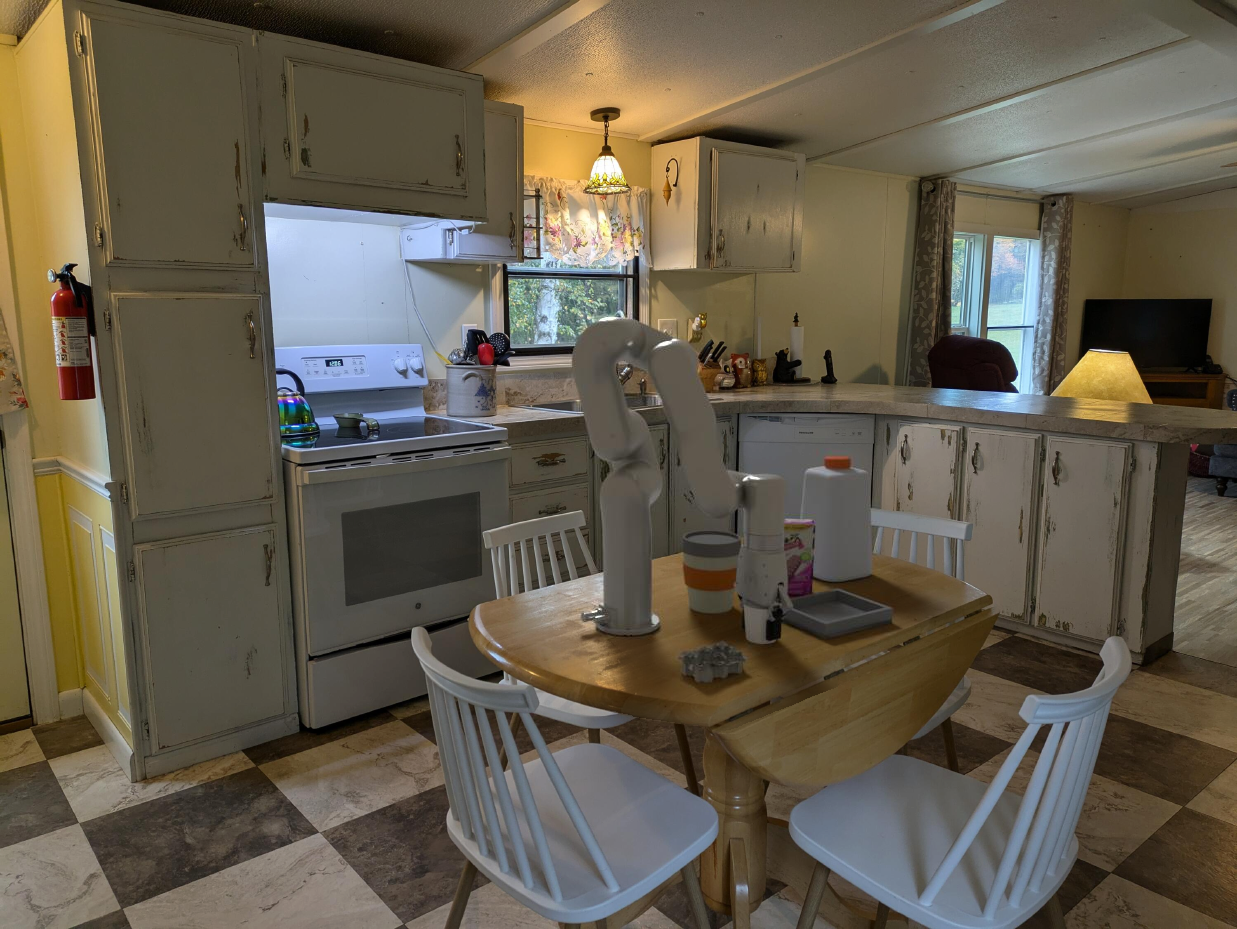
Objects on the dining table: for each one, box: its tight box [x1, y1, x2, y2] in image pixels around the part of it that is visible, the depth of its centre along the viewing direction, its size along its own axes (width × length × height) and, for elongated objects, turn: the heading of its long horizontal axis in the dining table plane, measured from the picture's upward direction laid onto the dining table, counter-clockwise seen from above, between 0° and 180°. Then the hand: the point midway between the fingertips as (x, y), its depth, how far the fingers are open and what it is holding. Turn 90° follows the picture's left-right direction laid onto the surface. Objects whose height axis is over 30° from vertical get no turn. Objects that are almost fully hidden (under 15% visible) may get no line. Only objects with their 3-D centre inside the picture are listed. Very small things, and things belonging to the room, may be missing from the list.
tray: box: [782, 588, 894, 640], centre depth 169 cm, size 18×15×3 cm
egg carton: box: [677, 640, 749, 683], centre depth 144 cm, size 11×8×4 cm
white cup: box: [744, 600, 777, 645], centre depth 159 cm, size 7×7×7 cm
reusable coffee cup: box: [681, 529, 742, 614], centre depth 177 cm, size 13×13×15 cm
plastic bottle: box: [799, 455, 873, 583], centre depth 200 cm, size 15×15×28 cm
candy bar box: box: [783, 518, 815, 596], centre depth 186 cm, size 11×5×16 cm, turn 84°
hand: (761, 632), depth 159 cm, fingers closed on white cup, 6 cm apart
